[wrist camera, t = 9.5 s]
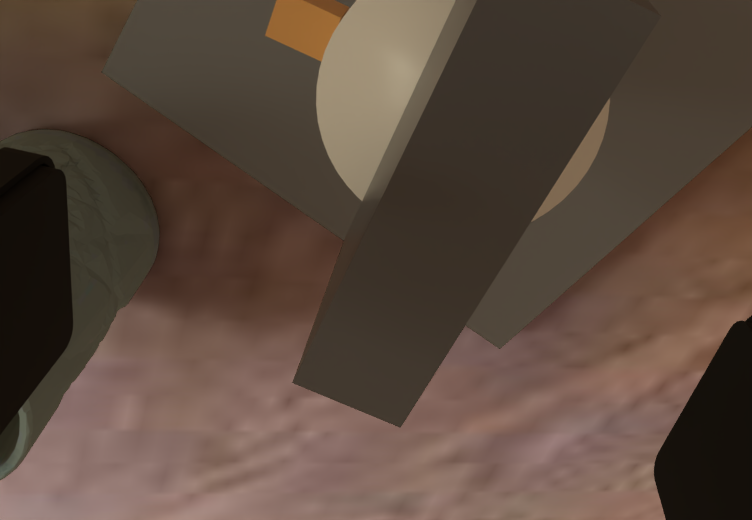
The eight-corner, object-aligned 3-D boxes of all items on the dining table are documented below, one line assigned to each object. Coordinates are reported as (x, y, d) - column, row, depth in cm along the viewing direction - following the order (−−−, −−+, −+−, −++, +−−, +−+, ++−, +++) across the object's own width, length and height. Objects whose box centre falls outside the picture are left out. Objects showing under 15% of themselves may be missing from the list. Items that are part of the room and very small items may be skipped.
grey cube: (672, -28, 18) (804, 85, 10) (499, 250, 22) (501, 469, 15) (354, -186, 17) (238, -192, 9) (245, 136, 22) (109, 306, 14)
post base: (499, 328, 33) (500, 439, 27) (118, 61, 29) (21, 123, 23) (912, -44, 23) (1055, 3, 17) (421, -534, 19) (388, -695, 13)
